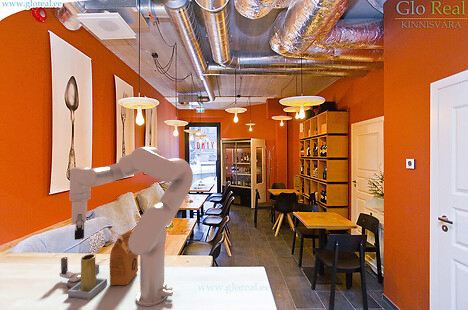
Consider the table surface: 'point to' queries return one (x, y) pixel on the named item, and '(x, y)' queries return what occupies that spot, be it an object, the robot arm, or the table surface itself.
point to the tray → (76, 292)
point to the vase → (88, 273)
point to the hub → (71, 284)
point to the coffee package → (122, 261)
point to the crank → (69, 275)
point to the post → (97, 268)
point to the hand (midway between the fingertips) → (79, 234)
